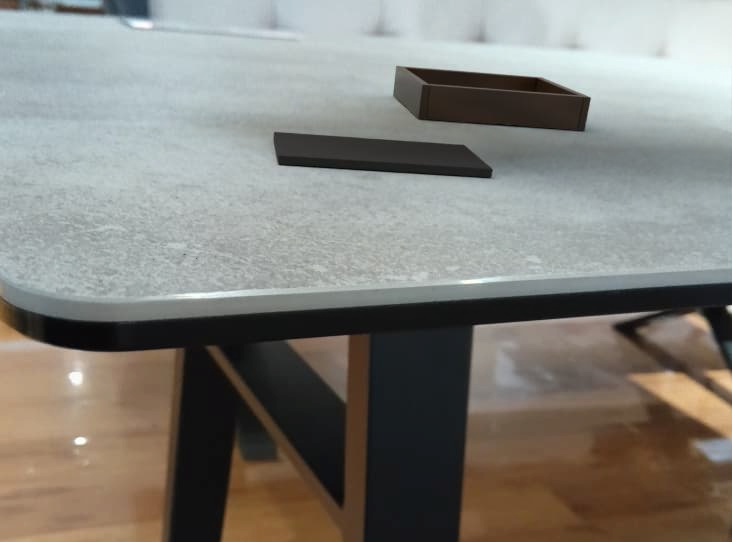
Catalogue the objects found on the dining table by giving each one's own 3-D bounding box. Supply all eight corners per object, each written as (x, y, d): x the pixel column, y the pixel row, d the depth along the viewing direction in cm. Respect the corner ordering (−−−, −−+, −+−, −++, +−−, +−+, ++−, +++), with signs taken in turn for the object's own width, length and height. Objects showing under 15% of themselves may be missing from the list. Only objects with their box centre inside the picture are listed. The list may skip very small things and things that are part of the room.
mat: (463, 152, 56) (464, 144, 56) (491, 177, 50) (493, 168, 49) (273, 140, 54) (273, 131, 54) (277, 164, 48) (278, 155, 48)
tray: (537, 106, 79) (542, 77, 78) (584, 130, 68) (591, 97, 67) (392, 95, 78) (396, 65, 77) (418, 119, 67) (422, 84, 66)
